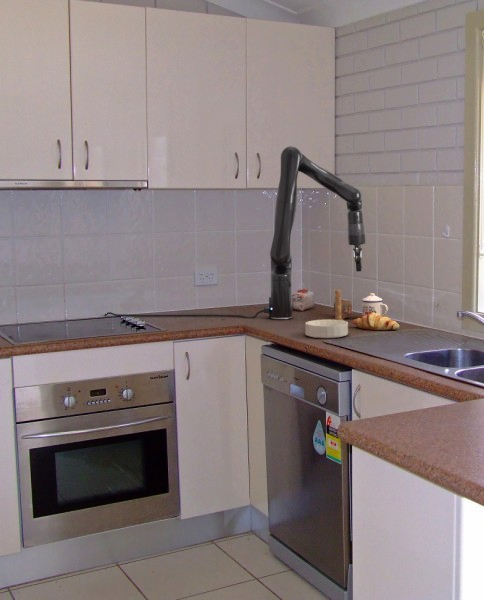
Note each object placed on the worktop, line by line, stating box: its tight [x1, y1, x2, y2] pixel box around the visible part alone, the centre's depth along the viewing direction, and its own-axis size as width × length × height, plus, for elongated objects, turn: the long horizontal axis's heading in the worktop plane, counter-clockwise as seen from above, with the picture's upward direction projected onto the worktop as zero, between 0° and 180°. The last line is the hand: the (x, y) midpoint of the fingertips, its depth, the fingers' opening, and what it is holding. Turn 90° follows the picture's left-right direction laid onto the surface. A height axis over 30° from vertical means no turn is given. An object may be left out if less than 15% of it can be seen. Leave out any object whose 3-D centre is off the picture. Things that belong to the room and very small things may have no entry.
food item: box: [292, 288, 316, 312], centre depth 401 cm, size 14×8×10 cm, turn 158°
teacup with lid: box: [361, 292, 389, 317], centre depth 367 cm, size 12×9×12 cm
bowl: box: [304, 319, 349, 339], centre depth 327 cm, size 17×17×5 cm
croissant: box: [351, 312, 400, 331], centre depth 343 cm, size 21×10×8 cm, turn 65°
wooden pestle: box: [333, 289, 345, 321], centre depth 341 cm, size 4×4×16 cm
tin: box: [333, 298, 353, 320], centre depth 374 cm, size 15×3×8 cm, turn 25°
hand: (359, 270), depth 371 cm, fingers open, 8 cm apart
